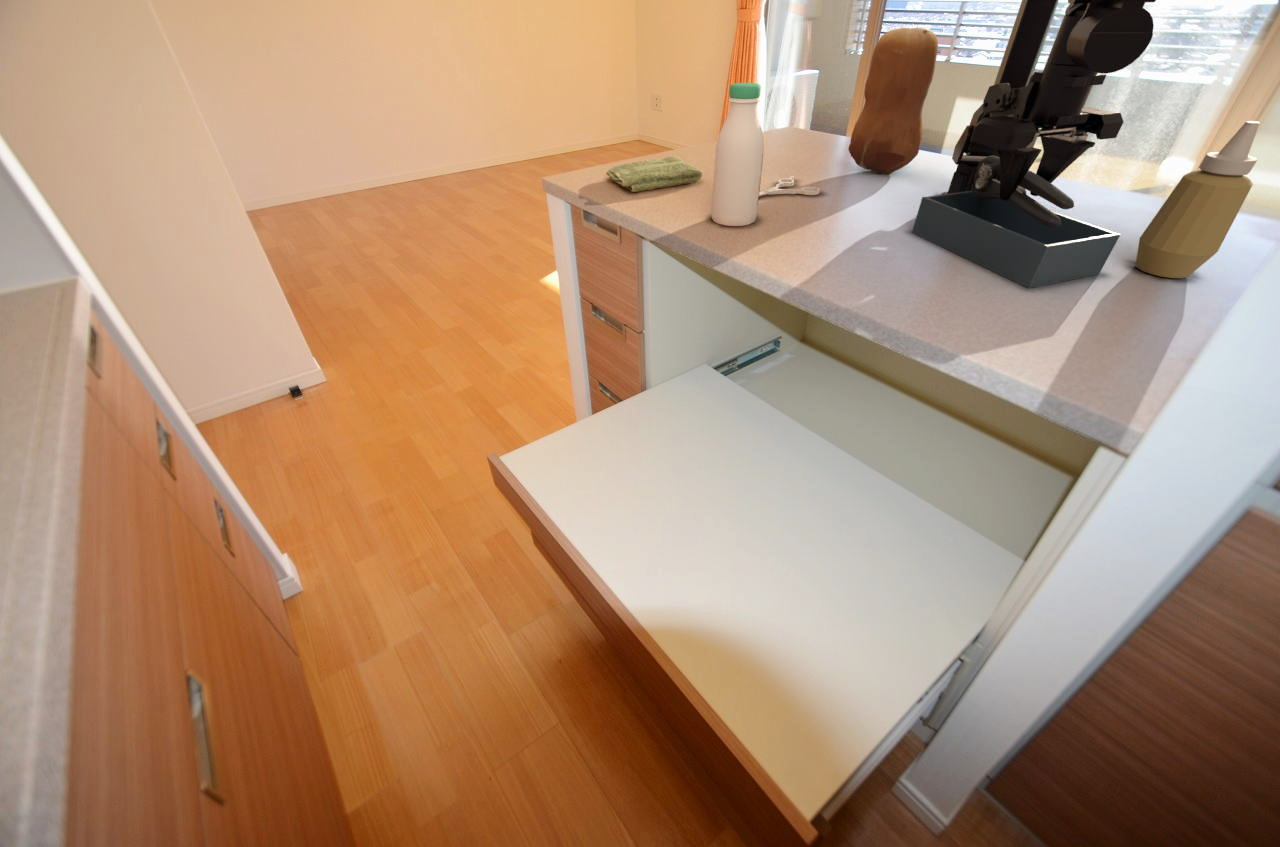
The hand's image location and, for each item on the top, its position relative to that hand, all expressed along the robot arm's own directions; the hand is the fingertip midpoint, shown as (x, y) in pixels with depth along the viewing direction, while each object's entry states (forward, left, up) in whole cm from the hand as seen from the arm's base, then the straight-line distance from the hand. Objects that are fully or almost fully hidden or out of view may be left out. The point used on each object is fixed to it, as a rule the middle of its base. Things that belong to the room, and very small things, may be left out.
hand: (1019, 197), depth 75 cm
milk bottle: (+30, -27, -8) cm, 41 cm away
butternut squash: (-12, -44, -8) cm, 46 cm away
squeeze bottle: (-15, +13, -8) cm, 21 cm away
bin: (0, 0, -8) cm, 8 cm away
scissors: (+17, -38, -8) cm, 42 cm away
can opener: (0, 0, -2) cm, 2 cm away
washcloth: (+35, -55, -8) cm, 66 cm away
